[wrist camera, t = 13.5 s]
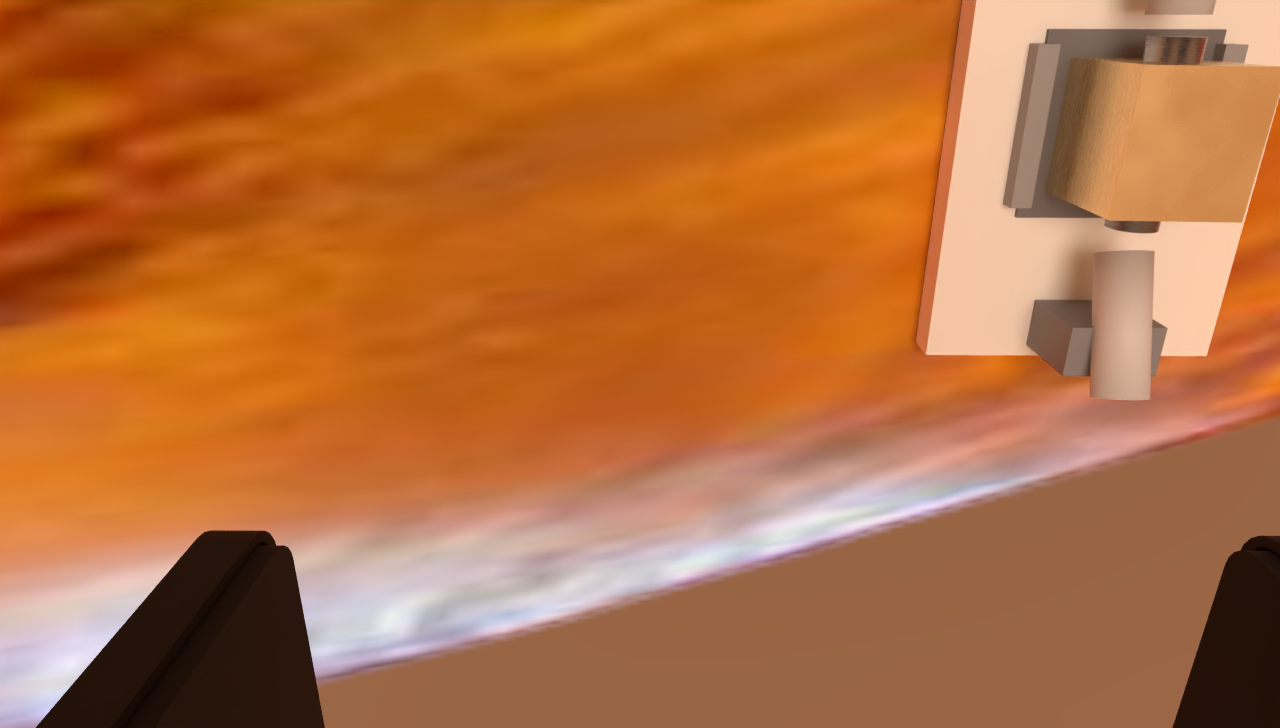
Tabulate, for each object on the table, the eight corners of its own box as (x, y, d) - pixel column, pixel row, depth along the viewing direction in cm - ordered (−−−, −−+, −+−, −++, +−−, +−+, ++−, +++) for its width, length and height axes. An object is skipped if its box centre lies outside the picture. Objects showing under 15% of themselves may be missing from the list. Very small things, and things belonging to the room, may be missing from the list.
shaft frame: (983, -152, 30) (1071, -196, 24) (1319, -152, 30) (1496, -195, 24) (914, 349, 38) (968, 416, 31) (1184, 349, 38) (1292, 417, 31)
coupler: (1076, 34, 31) (1151, 37, 26) (1198, 35, 31) (1295, 39, 26) (1041, 212, 34) (1104, 243, 29) (1154, 213, 34) (1235, 245, 29)
